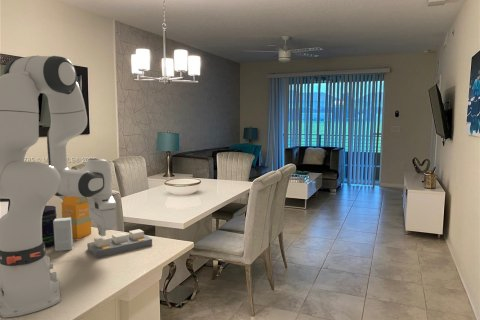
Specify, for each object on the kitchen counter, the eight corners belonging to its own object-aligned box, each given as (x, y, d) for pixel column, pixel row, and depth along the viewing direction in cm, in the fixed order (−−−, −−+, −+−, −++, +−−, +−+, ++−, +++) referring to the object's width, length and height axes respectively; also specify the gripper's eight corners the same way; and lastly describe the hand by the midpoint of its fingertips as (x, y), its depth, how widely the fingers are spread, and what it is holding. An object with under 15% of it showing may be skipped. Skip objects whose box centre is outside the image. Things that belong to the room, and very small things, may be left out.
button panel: (152, 245, 147) (152, 238, 147) (96, 258, 134) (96, 250, 133) (140, 237, 156) (140, 231, 155) (87, 249, 142) (87, 242, 142)
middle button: (127, 241, 144) (127, 235, 144) (116, 244, 142) (116, 237, 141) (123, 238, 148) (122, 232, 148) (112, 241, 145) (112, 234, 145)
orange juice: (77, 238, 154) (74, 192, 152) (62, 235, 158) (60, 190, 156) (91, 233, 161) (89, 189, 159) (77, 230, 165) (75, 187, 163)
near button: (109, 245, 140) (109, 238, 140) (98, 248, 137) (97, 241, 137) (105, 242, 144) (105, 235, 143) (94, 245, 141) (94, 238, 140)
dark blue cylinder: (26, 245, 146) (23, 209, 145) (50, 238, 154) (48, 204, 152) (37, 250, 140) (35, 213, 139) (62, 243, 148) (60, 208, 146)
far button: (143, 238, 149) (143, 231, 149) (133, 240, 146) (133, 233, 146) (139, 235, 152) (139, 229, 152) (129, 237, 150) (129, 231, 149)
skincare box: (73, 246, 146) (71, 217, 144) (71, 249, 142) (70, 220, 140) (56, 247, 144) (54, 218, 142) (54, 251, 140) (52, 221, 138)
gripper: (83, 196, 145) (85, 230, 146) (100, 207, 129) (102, 244, 131) (99, 194, 148) (101, 227, 150) (118, 204, 133) (119, 240, 135)
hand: (102, 235), depth 140 cm, fingers closed
